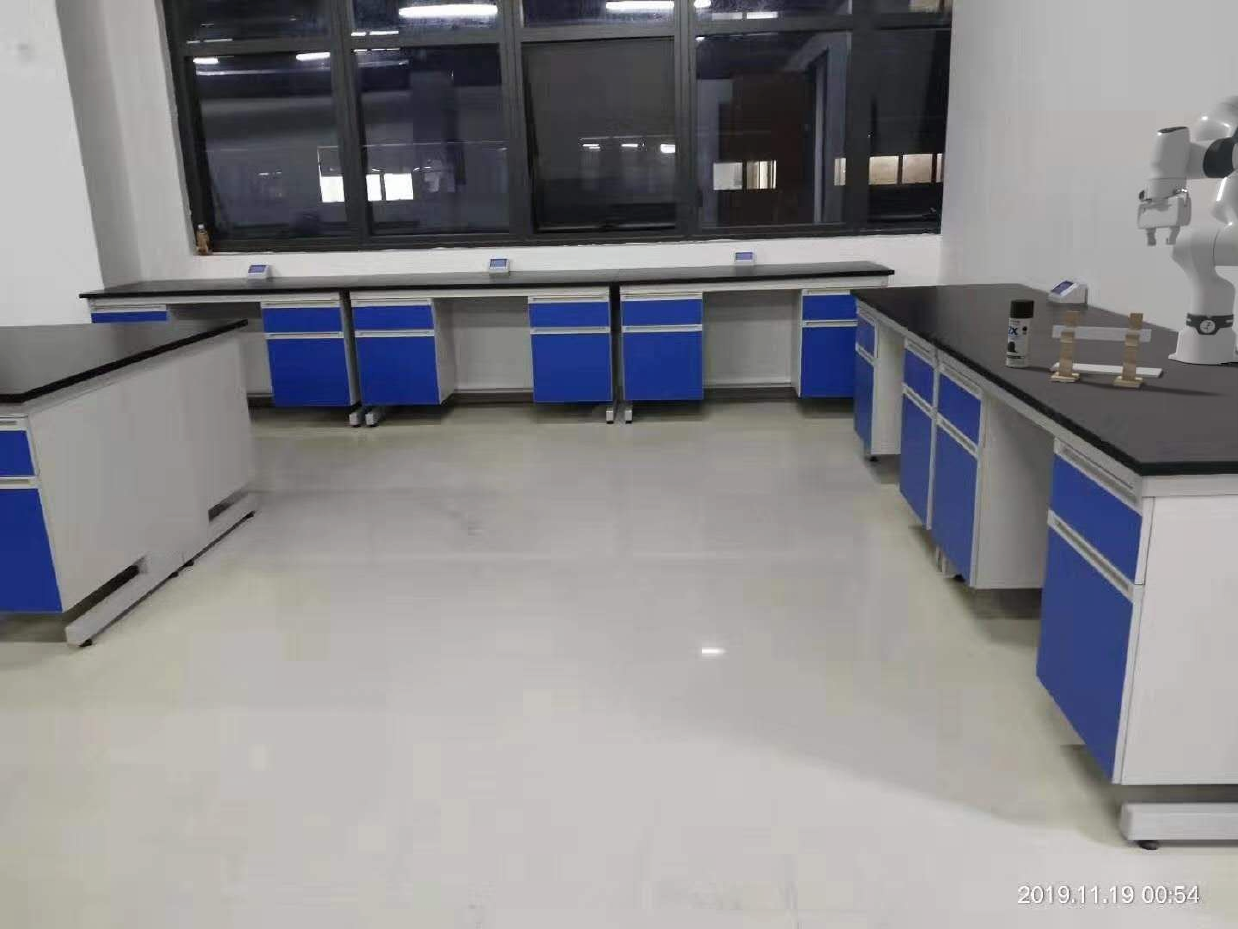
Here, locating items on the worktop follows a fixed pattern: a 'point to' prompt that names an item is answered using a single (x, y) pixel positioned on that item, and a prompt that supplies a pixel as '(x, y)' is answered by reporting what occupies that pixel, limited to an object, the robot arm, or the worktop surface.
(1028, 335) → the spray can
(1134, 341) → the hook post
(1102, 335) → the steel bar
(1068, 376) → the hook post
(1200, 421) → the worktop surface
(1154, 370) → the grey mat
